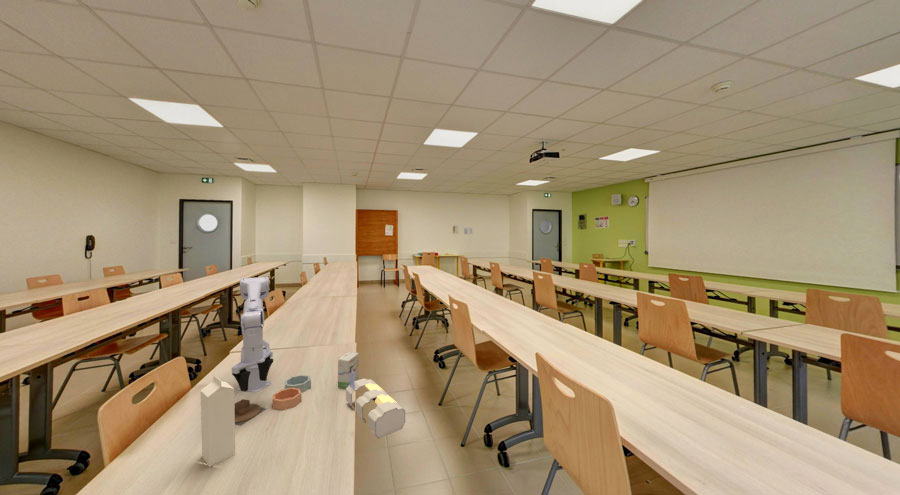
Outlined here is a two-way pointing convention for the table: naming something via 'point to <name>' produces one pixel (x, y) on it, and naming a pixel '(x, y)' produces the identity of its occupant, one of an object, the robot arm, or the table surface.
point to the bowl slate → (299, 382)
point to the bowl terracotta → (286, 398)
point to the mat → (248, 420)
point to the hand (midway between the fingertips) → (254, 385)
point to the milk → (217, 421)
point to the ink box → (347, 368)
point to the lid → (245, 411)
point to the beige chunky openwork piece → (386, 413)
